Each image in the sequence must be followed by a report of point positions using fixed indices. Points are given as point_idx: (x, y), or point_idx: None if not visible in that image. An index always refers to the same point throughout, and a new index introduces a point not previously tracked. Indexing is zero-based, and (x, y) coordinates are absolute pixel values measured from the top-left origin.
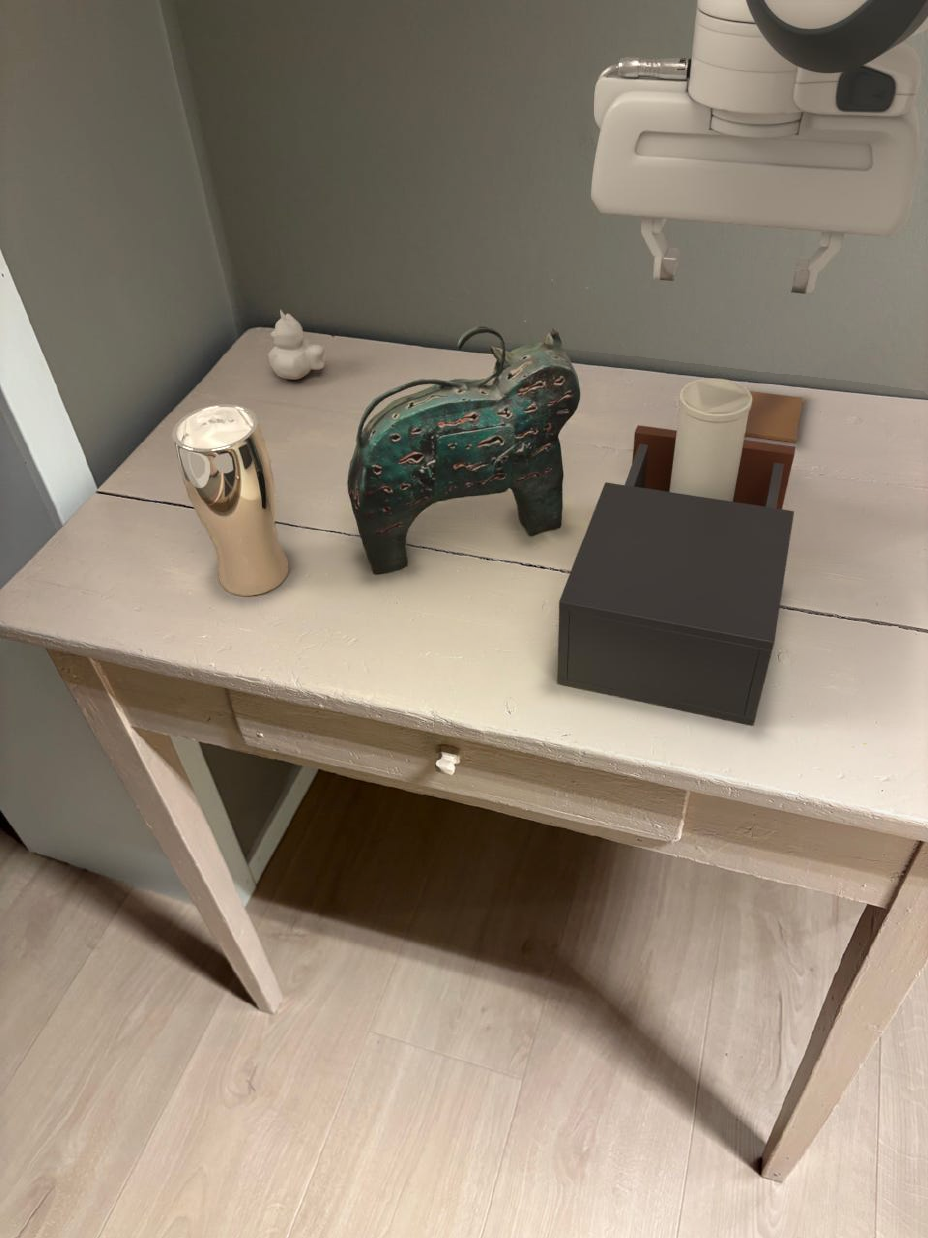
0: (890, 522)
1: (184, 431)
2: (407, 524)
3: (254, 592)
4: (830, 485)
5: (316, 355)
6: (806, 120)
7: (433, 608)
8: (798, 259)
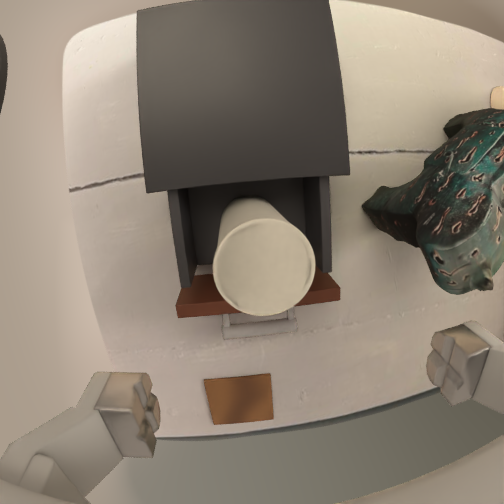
0: (111, 307)
1: None
2: (466, 121)
3: (496, 87)
4: (163, 338)
5: None
6: None
7: (411, 89)
8: (149, 455)
